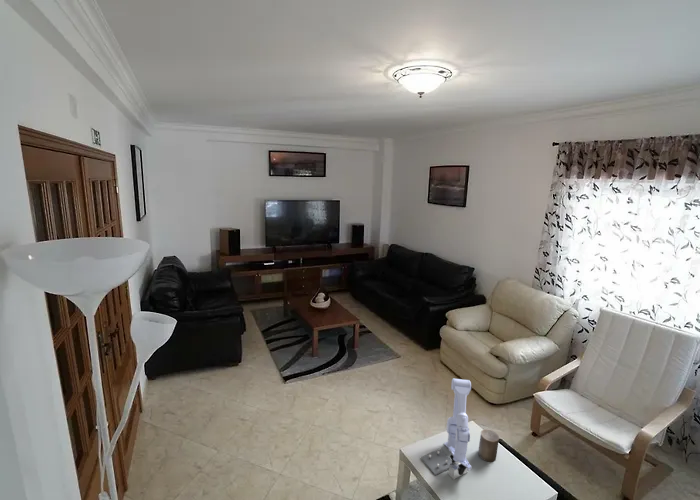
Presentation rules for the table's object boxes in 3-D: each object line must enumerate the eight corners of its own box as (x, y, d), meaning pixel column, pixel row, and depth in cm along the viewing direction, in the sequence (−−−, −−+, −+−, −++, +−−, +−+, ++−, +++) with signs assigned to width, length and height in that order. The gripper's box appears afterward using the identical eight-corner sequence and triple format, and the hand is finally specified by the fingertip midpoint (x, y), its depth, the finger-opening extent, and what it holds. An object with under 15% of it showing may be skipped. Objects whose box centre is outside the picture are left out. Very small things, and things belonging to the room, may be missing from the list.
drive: (461, 466, 191) (463, 457, 190) (467, 472, 188) (468, 463, 186) (447, 473, 187) (449, 464, 185) (453, 479, 183) (454, 470, 182)
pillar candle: (498, 462, 195) (502, 440, 191) (481, 461, 195) (484, 439, 192) (492, 448, 204) (495, 427, 201) (475, 448, 205) (478, 426, 201)
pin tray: (440, 450, 202) (440, 446, 201) (455, 466, 192) (455, 461, 191) (421, 458, 196) (421, 454, 195) (435, 475, 186) (435, 470, 185)
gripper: (445, 442, 188) (442, 463, 192) (465, 462, 176) (462, 484, 179) (455, 438, 191) (452, 458, 195) (475, 457, 179) (472, 479, 182)
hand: (458, 470), depth 187 cm, fingers closed on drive, 4 cm apart
